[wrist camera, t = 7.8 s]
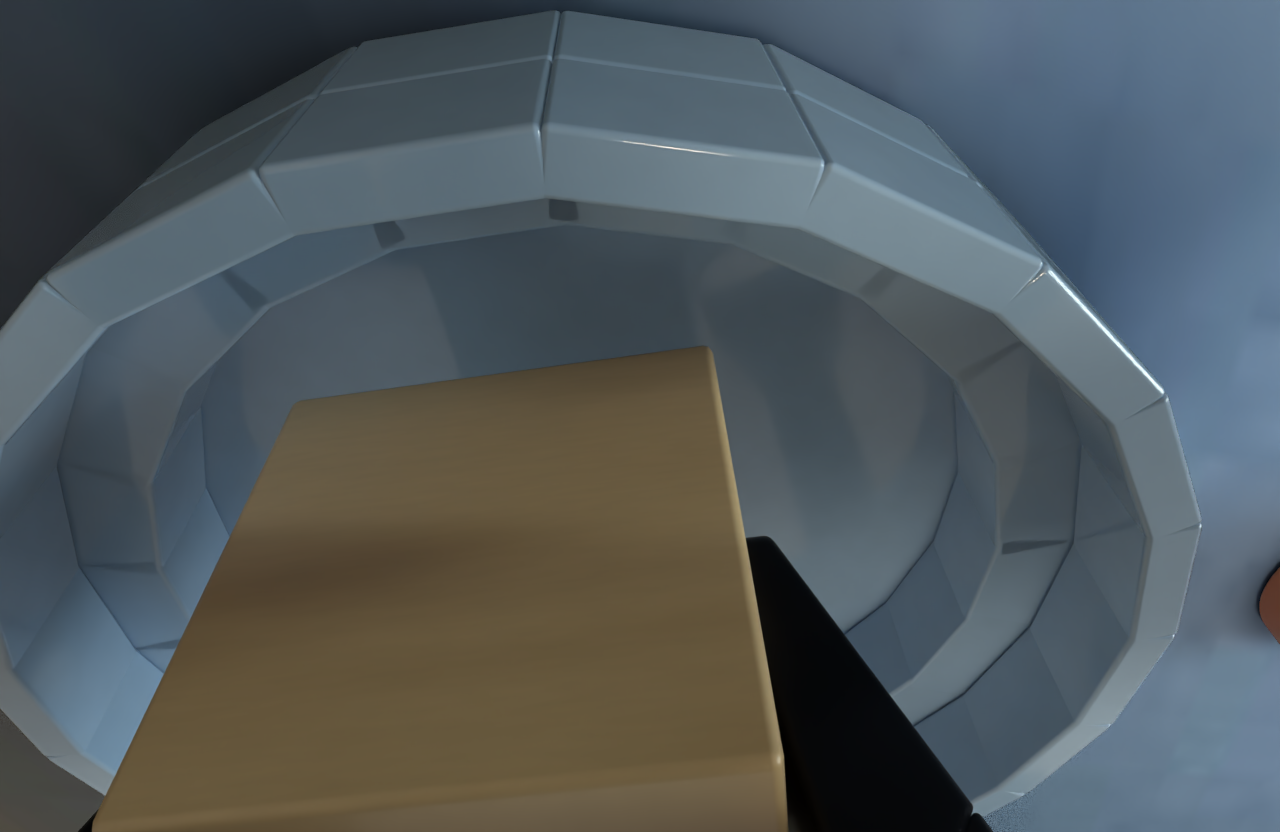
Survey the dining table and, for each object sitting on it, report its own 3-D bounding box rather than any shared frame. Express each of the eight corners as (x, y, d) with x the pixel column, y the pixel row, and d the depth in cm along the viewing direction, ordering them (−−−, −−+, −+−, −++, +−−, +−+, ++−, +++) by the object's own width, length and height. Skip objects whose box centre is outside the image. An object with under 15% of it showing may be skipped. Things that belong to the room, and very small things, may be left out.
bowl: (985, 683, 18) (1063, 874, 15) (329, 753, 19) (276, 945, 16) (1174, -108, 9) (1499, -26, 5) (-168, 116, 10) (-540, 291, 6)
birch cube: (739, 607, 11) (798, 994, 8) (423, 642, 11) (343, 1030, 8) (711, 340, 8) (784, 763, 5) (291, 397, 8) (78, 834, 5)
